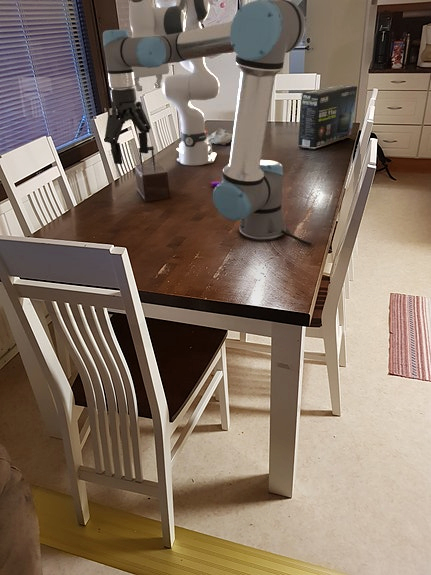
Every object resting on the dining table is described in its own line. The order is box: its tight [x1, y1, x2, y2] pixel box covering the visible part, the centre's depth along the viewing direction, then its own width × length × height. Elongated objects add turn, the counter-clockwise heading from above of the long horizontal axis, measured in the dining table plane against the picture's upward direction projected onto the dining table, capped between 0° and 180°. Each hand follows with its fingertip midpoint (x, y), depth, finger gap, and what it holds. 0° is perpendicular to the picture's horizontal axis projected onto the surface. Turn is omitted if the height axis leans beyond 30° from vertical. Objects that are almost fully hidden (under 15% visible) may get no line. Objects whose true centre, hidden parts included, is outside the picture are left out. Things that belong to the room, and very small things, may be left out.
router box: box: [297, 84, 358, 151], centre depth 238 cm, size 36×11×27 cm, turn 134°
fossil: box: [207, 127, 233, 146], centre depth 254 cm, size 18×11×15 cm
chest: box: [134, 168, 171, 203], centre depth 182 cm, size 14×10×10 cm
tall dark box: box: [133, 145, 169, 178], centre depth 178 cm, size 15×10×8 cm
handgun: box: [210, 181, 222, 188], centre depth 183 cm, size 21×8×2 cm, turn 11°
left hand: (148, 89), depth 174 cm, fingers open, 8 cm apart
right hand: (132, 158), depth 150 cm, fingers open, 13 cm apart
